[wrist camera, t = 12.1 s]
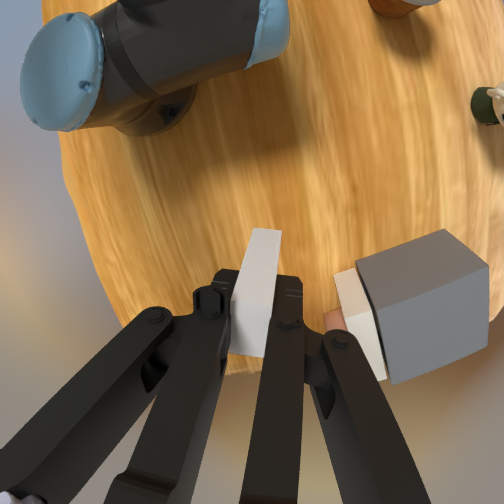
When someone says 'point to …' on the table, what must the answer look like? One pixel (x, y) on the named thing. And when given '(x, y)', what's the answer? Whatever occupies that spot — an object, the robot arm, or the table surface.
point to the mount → (427, 303)
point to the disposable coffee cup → (398, 6)
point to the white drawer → (357, 319)
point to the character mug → (489, 104)
